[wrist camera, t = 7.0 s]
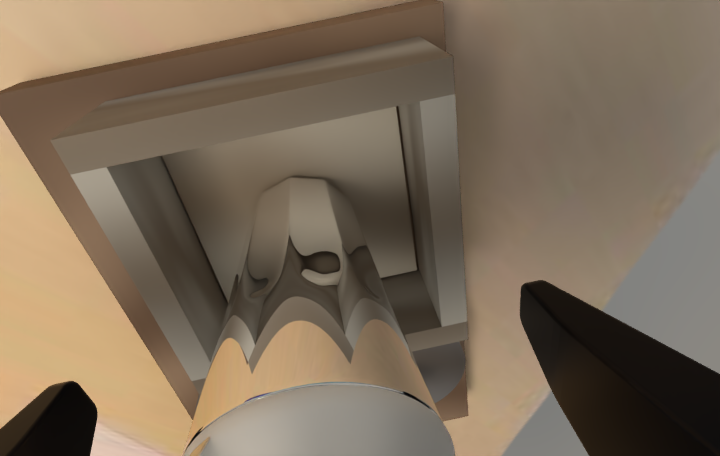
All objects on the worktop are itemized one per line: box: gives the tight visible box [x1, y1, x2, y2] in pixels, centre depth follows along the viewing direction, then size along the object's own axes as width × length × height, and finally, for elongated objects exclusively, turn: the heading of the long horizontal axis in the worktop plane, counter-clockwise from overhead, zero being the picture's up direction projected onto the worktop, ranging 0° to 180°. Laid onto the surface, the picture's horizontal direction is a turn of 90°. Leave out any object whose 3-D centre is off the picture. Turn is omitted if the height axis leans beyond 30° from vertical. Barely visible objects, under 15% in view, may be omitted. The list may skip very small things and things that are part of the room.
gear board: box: [0, 0, 468, 421], centre depth 15 cm, size 18×12×4 cm, turn 10°
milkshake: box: [182, 177, 455, 456], centre depth 10 cm, size 5×5×10 cm
